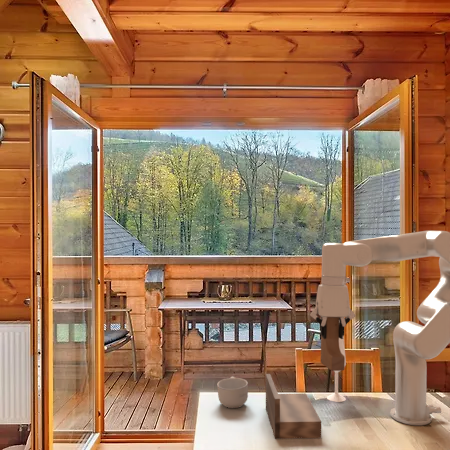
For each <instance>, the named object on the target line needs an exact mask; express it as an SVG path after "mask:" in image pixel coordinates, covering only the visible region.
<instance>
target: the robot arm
mask: <svg viewBox="0 0 450 450" xmlns="http://www.w3.org/2000/svg"><path fill="white" fill-rule="evenodd" d="M321 248H322V249H321V280H320V281H321V284H318V287H317V291H316V298H315V299H316V301H315V307H314V309H313V310H312V311H311V312H310V313H309V316H310V317H311V318H312V319H314V320H315V321H316V322H317V323H318V324H319V325H320V329H319V330H320V332H319V333H320V337H321V336H322V337H323V338H324V339H326V333H327V327H326V326H325V323H326V320H327V317H339V338H340V339H343V336H344V337H345V327H346V326H347V324H349V323H350V321H351V320H353V319H354V318H355V317H356V313H354V311H353V310H352V309H351V307H350V305H351V304H350V296H349V295H350V293H349V289H348V288H349V287H348V285H347V283H350V282H351V279H350V277H347V276H346V275H347V274H346V271H347V269H346V268H347V266H350V267H351V266H353V267H360V268H361V267H365V266H367V265H369V264H370V263H371V262H372V261H387V262H388V261H390V262H401V261H406V260H407V261H408V260H414V259H421V258H427V257H429V258H430V257H437V258H439V260H438V266H439V273H440V278H439V281H438V283H437V285H436V286H435V287H434V289H432V291H431V292H430V293H429V294H428V296H426V297H425V299H424V300H422V302H421V303H420V305H419V306H418V308H417V310H416V316H417V319H418V321H420V322H421V324H419V323H417V322H414V321H409V320H404V321H401V322H399V323H398V324H397V325H396V326H395V327H394V329H393V331H392V341H393V347H394V354H395V355H394V357H395V377H394V378H395V380H394V382H395V383H394V384H395V386H394V387H395V396H394V397H395V399H394V400H395V401H394V402H395V403H394V407H393V408H391V409H390V412H389V414H390V417H391V418H392V419H393V420H395V421H397V422H399V423H402V424H405V425H411V426H425V425H429V424H431V422H432V414H442V409H441V406H434V405H433V404H428V403H427V370H428V369H427V360H431V359H434V358H436V357H437V356H439V355H440V354H441V353H442V352H443V351H444V350H445V349H446V348H447V346H448V345H450V231H446V230H431V229H429V230H423V231H415V232H411V233H410V232H409V233H403V234H402V233H401V234H395V235H394V234H393V235H385V236H380V237H379V236H378V237H374V238H373V237H372V238H371V237H370V238H364V239H357V240H349V241H345V242H344V243H342V242H341V243H340V242H326V243H324V244H322V247H321ZM318 315H319V316H320V317H319V316H318ZM422 324H424V325H422Z"/></svg>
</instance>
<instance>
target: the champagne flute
mask: <svg viewBox="0 0 450 450" xmlns="http://www.w3.org/2000/svg"><path fill="white" fill-rule="evenodd" d="M344 338H345V335H344V336H343V339H340V338H339V348H340V351H341V353H342V354H343V355H344V357H345V365H344V368H346V365H347V361H346V360H347V359H346V350H345V339H344ZM333 372H334V392H333V393H331V394H330V395H327V397H326V398H327V400H329V401H330V402H336V403H341V402H345V401H346V400H347V399H346V397H345V396H343V395H341V394H340V393H339V372H341V371H333Z"/></svg>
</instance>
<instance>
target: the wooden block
mask: <svg viewBox="0 0 450 450" xmlns="http://www.w3.org/2000/svg"><path fill="white" fill-rule="evenodd" d="M339 323H340V322H339V317H327V320H326V323H325V326H326V327H327V333H326V339H324V338H323V337H322V336H321V335H320V363H321V364H322V365H323V366H325V367H326V368H327V369H328V370H329V371H332V372H334V371H340V372H341V371H344V370H345V367H344V365H345V358H346V356H345V357H344V355H343V354H342V353H341V351H340V348H339ZM345 366H346V365H345Z"/></svg>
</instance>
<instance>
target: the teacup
mask: <svg viewBox="0 0 450 450" xmlns="http://www.w3.org/2000/svg"><path fill="white" fill-rule="evenodd" d="M216 384H217V385H216V386H217V396H218V401H219V402H220V404H222V405H223V406H224V407H225V408H227V407H228V408H227V409H238V408H240V407H242V406H244V404H246V403H247V401H248V397H249V395H248V394H249V393H248V392H249V387H248V384H249V383H248V381H247V380H246V379H244V378H241V377H240V378H239V377H235V376H230V378H228V377H227V378H224V379H221V380H219V381H218V382H217V383H216Z"/></svg>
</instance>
